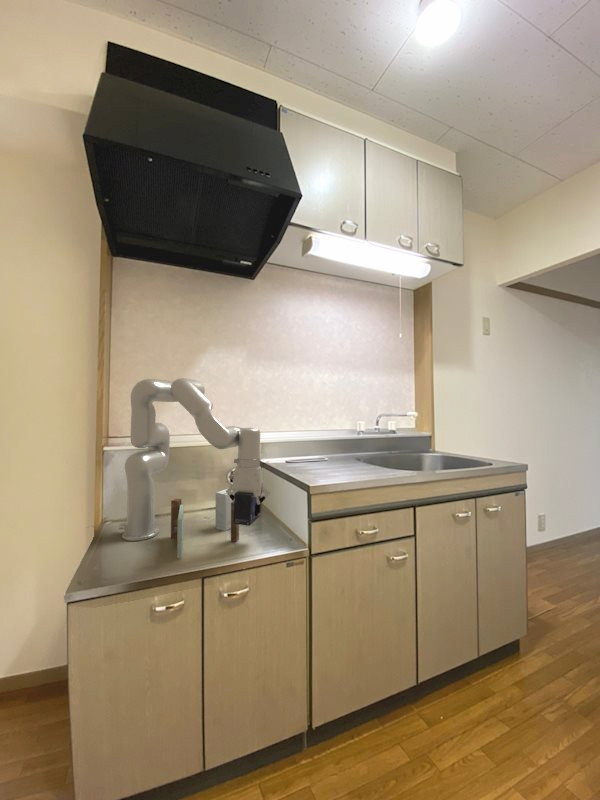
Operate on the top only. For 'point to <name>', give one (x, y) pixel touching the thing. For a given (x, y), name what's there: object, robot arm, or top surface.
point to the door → (180, 530)
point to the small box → (244, 508)
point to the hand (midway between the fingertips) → (247, 513)
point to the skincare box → (223, 510)
